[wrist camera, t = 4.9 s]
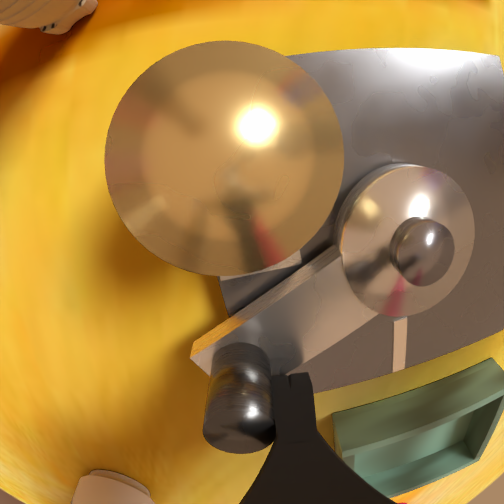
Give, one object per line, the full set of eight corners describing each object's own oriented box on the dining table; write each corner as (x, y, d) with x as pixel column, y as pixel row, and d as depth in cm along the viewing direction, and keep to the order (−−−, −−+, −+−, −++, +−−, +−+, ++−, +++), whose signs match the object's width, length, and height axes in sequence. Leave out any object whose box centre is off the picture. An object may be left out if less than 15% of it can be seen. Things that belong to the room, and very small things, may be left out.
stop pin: (282, 77, 9) (315, 23, 4) (308, 199, 10) (359, 249, 6) (158, 107, 9) (84, 83, 4) (187, 225, 10) (142, 294, 6)
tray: (491, 357, 14) (514, 383, 12) (465, 437, 17) (478, 460, 14) (332, 413, 15) (342, 451, 12) (337, 482, 18) (343, 511, 15)
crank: (419, 135, 9) (502, 141, 5) (471, 247, 11) (541, 292, 7) (171, 317, 11) (141, 399, 7) (256, 397, 13) (259, 480, 9)
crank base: (485, 58, 9) (500, 55, 8) (493, 320, 13) (504, 330, 12) (175, 87, 10) (167, 82, 9) (255, 389, 14) (256, 405, 13)
